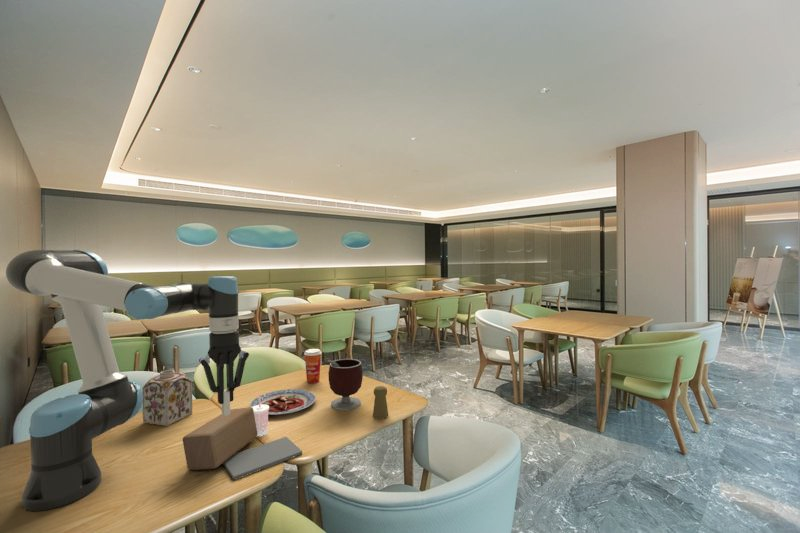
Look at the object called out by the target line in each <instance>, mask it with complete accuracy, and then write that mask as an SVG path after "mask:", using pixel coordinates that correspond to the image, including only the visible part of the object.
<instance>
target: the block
mask: <svg viewBox="0 0 800 533" xmlns="http://www.w3.org/2000/svg"><path fill="white" fill-rule="evenodd" d="M257 434H258V433H257V427H256V422H255V416H254V411H253V408H251V407H250V406H249V407H243V408H242V407H241V408H233V409H231V408H230V415H226V416H224V415H223V414H222V413H221V414H220V415H217V416H216V417H214V418H212V419H210V420H209V421H208V422H206V423H205V424H202V425H200V426H199V427H198V428H196V429H195V430H192V431H190V432H189V433H188V434H186V435H184V436H183V437H182V444H183V451H184V455H185V456H184V457H185V461H186V467H187V469H188V471H198V470H211V469H213V470H214V469H216V468H218V467H219V466H221V465H223V462H225V461H226V460H227V459H228V458H230V457H231V456H232V455H233V454H236V453H238V452H239V451H240V450H241V449H242V448H244V447H245V446H247V444H249V443H250V442H251V441H252V440H254V439H255V438H257Z"/></svg>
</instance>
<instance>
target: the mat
mask: <svg viewBox="0 0 800 533" xmlns="http://www.w3.org/2000/svg"><path fill="white" fill-rule="evenodd" d="M300 454H302V455H303V450H302V449H301V448H299V446H298V445H297V444H295V443H294V442H293V441H292V440H290V439H289V438H288V437H287V436H284V437H281V438H278V439H275V440H273V441H269V442H266V443H263V444H261V445H260V444H259V445H257V446H254V447H251V448H248V449H245V450H243V451H240V452H239V451H238V452H236V453H235V454H233V455H232V456H231V457H230V458H228V459H227V460H226V461H225V462H223V463H222V465H223V466H224V467H225V470H227V472H228V475H230V477H231V476H232V477H231V479H232V480H233V479H236V478H238V479H240V478H239V477H241V478H243V477H242V476H244V477H246V476H248V475H247V474H249V475H251V474H253V473H252V472H254V473H256V472H255V471H257V470H259V469H262V468H265V469H267V468H269V466H270V467H272V466H274V465H278V464H281V463H282V462H285V461H288V460H290V458H291V457H293V456H296V457H298V456H297V455H299V456H301V455H300ZM291 459H292V458H291ZM266 467H267V468H266ZM262 470H263V469H262ZM259 471H260V470H259ZM257 472H258V471H257ZM250 473H251V474H250ZM245 475H246V476H245ZM236 480H237V479H236Z"/></svg>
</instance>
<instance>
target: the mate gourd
mask: <svg viewBox="0 0 800 533" xmlns="http://www.w3.org/2000/svg"><path fill="white" fill-rule="evenodd" d="M326 362H327V363H329V367H328V385H329V388H330V390H331V391H332V392H333V393H334V394H335V395H337V396H341V397H339V398H335V399H334V400H331V402H330V407H331V408H332V409H333V410H336V411H352V410H355V409H358V408H359V407H360V406H361V404H362V401H361V399H359V398H357V397H352V395H355V394H357V393H358V392H359V390H360V389H361V387H362V383H363V376H364V375H363V373H364V372H363V371H364V370H363V365H362V361H361V360H359V359H355V358H354V359H353V358H342V359H335V360H330V359H327V360H326Z"/></svg>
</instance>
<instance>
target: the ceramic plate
mask: <svg viewBox="0 0 800 533" xmlns="http://www.w3.org/2000/svg"><path fill="white" fill-rule="evenodd" d="M316 400H317V396H316V394H314V393H313V392H311V391H308V390H305V389H297V388H296V389H295V388H294V389H292V388H291V389H283V390H282V389H281V390H274V391H271V392H267V393H264V394H262V395H261V394H260V402H261V404H266V405H269V410H268V416H270V415H273V416H278V415H286V414H292V413H295V412H299V411H302V410H304V409H306V408H308V407H310V406H312V405H313V404H314V403H315V402H316ZM256 405H259V396H257V397H256V398H253V400H252V401H251V402H250V404H249V407H251V408H252V407H253V406H256Z"/></svg>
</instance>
